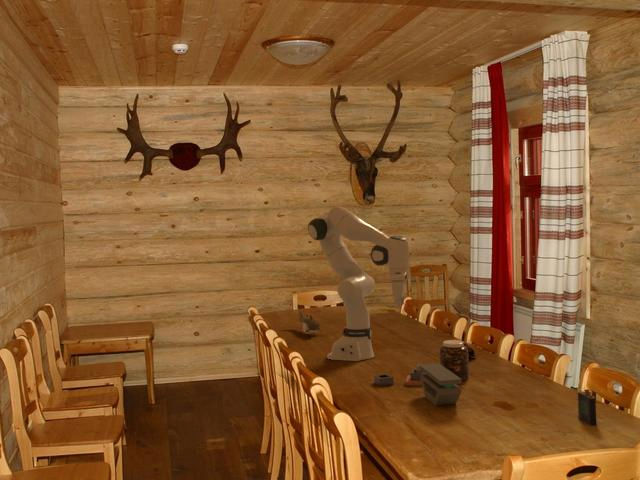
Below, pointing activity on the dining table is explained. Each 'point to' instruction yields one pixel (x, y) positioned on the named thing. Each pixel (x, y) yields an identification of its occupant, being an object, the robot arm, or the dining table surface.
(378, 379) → the loose link
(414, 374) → the link
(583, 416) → the flask
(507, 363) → the dining table surface
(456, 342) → the jar
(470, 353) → the pottery mug
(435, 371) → the grey lidded box
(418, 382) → the keeper
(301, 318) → the wood carving
